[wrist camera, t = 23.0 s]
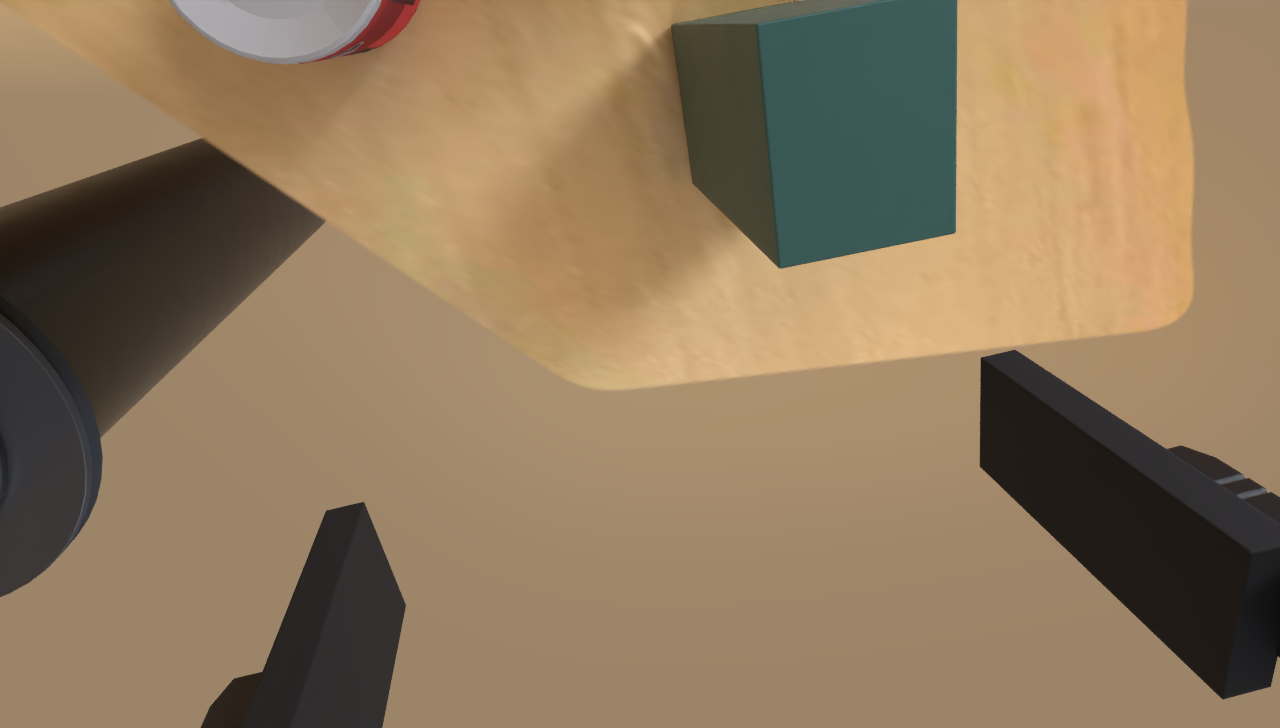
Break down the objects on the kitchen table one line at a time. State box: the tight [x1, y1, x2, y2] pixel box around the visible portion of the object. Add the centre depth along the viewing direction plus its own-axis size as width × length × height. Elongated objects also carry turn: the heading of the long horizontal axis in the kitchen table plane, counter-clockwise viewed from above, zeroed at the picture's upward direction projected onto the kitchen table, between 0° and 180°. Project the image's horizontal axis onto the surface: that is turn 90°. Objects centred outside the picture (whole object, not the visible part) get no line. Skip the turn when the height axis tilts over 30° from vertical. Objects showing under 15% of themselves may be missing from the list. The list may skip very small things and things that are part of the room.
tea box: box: [671, 0, 957, 268], centre depth 33 cm, size 6×16×8 cm
